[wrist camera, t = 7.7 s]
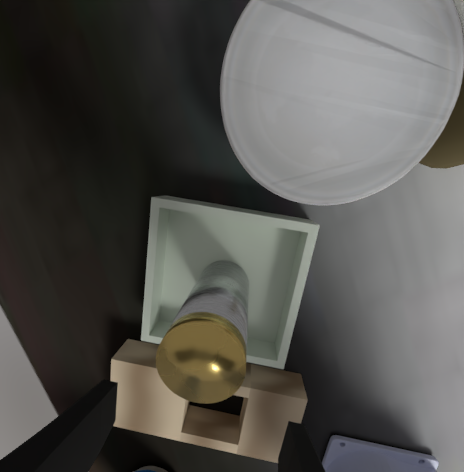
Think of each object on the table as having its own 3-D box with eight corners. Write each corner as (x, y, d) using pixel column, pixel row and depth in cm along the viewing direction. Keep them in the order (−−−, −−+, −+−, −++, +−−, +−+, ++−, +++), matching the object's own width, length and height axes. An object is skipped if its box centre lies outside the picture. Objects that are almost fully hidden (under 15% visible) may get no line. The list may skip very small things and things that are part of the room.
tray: (309, 219, 17) (319, 225, 14) (279, 345, 20) (283, 369, 17) (166, 195, 18) (151, 197, 15) (155, 321, 20) (140, 340, 18)
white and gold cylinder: (252, 264, 18) (252, 334, 9) (244, 310, 18) (238, 411, 10) (202, 256, 18) (158, 317, 10) (197, 302, 19) (153, 394, 10)
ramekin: (390, -1, 14) (472, -111, 9) (399, 182, 16) (469, 181, 11) (214, 50, 15) (195, -19, 10) (245, 212, 17) (241, 223, 12)
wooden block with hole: (301, 373, 20) (307, 400, 18) (284, 434, 22) (288, 465, 19) (127, 338, 21) (111, 359, 18) (124, 399, 22) (108, 424, 20)
